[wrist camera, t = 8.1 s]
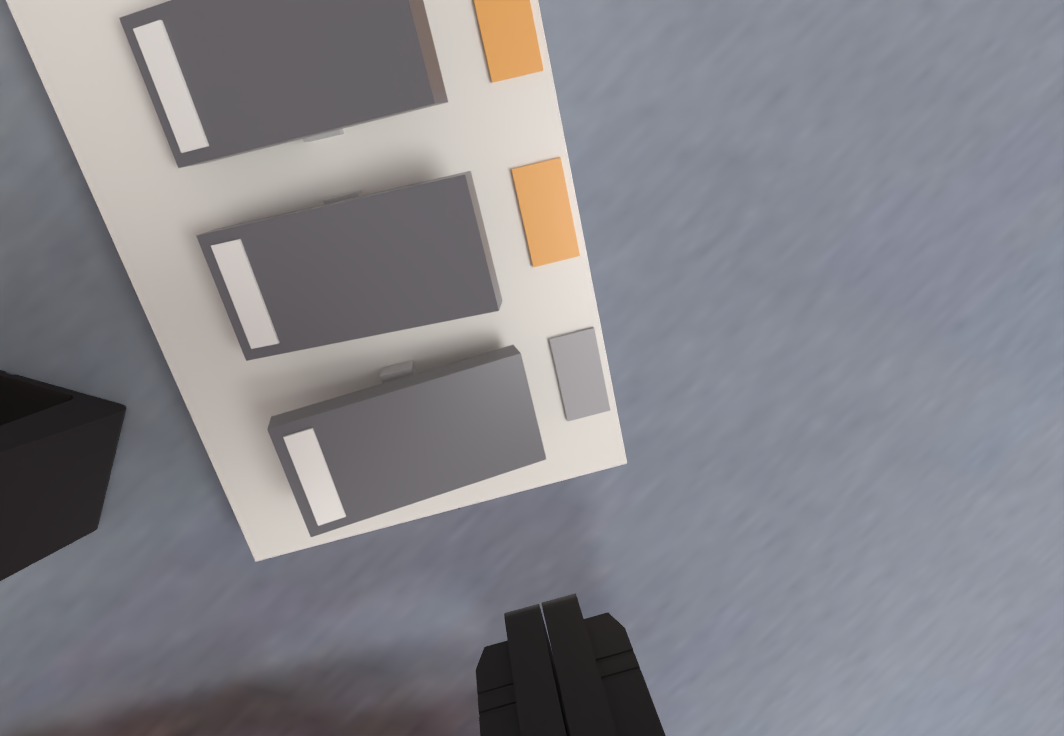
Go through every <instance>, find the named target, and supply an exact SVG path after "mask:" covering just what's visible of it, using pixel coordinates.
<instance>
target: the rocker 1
mask: <svg viewBox="0 0 1064 736" xmlns="http://www.w3.org/2000/svg"><path fill="white" fill-rule="evenodd" d="M119 19H120V22H121V24H122V27H123V29H124V32H125V34H126V37H127V39H128V42H129V44H130V47H131V50H132V52H133V55H134V57H135V60H136V62H137V65H138V67H139V70H140V72H141V75H142V77H143V80H144V82H145V85H146V88H147V90H148V93H149V95H150V98H151V100H152V103H153V105H154V108H155V110H156V113H157V115H158V118H159V120H160V123H161V126H162V128H163V131H164V133H165V136H166V138H167V141H168V143H169V146H170V148H171V151H172V153H173V156H174V158H175V161H176V164H177V166H178V168H182V167H187V166H193V165H198V164H204V163H208V162H212V161H216V160H220V159H224V158H228V157H232V156H236V155H240V154H244V153H248V152H252V151H256V150H260V149H264V148H268V147H272V146H276V145H280V144H283V143H287V142H291V141H295V140H299V139H303V138H307V137H311V136H315V135H319V134H323V133H327V132H331V131H335V130H339V129H343V128H347V127H351V126H355V125H359V124H363V123H367V122H371V121H375V120H379V119H383V118H387V117H391V116H395V115H399V114H403V113H407V112H411V111H415V110H419V109H423V108H427V107H431V106H435V105H439V104H443V103H447V102H448V99H447V95H446V91H445V87H444V82H443V78H442V74H441V70H440V66H439V62H438V58H437V54H436V50H435V46H434V42H433V38H432V34H431V30H430V26H429V22H428V18H427V14H426V10H425V6H424V2H423V0H170V1H167V2H164V3H161V4H158V5H156V6H153V7H150V8H147V9H144V10H141V11H138V12H135V13H132V14H129V15H126V16H123V17H120V18H119Z"/></svg>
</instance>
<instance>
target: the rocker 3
mask: <svg viewBox="0 0 1064 736" xmlns="http://www.w3.org/2000/svg"><path fill="white" fill-rule="evenodd" d="M267 430H268V433H269V435H270V438H271V440H272V442H273V445H274V447H275V450H276V452H277V455H278V457H279V460H280V462H281V465H282V467H283V470H284V472H285V475H286V477H287V480H288V482H289V485H290V487H291V490H292V492H293V495H294V497H295V500H296V502H297V504H298V507H299V509H300V512H301V514H302V517H303V519H304V522H305V524H306V527H307V529H308V532H309V534H310V537H314V536H317V535H320V534H323V533H326V532H329V531H332V530H335V529H338V528H341V527H344V526H347V525H350V524H353V523H356V522H359V521H362V520H365V519H368V518H371V517H374V516H377V515H380V514H383V513H386V512H389V511H392V510H395V509H398V508H401V507H404V506H407V505H410V504H413V503H416V502H419V501H422V500H425V499H428V498H431V497H434V496H437V495H440V494H443V493H446V492H449V491H452V490H455V489H458V488H461V487H464V486H467V485H470V484H474V483H477V482H480V481H483V480H486V479H489V478H492V477H495V476H498V475H501V474H504V473H507V472H510V471H513V470H516V469H519V468H522V467H525V466H528V465H531V464H534V463H537V462H540V461H543V460H546V455H545V451H544V447H543V443H542V439H541V435H540V430H539V426H538V422H537V418H536V414H535V410H534V405H533V401H532V397H531V393H530V389H529V385H528V381H527V376H526V372H525V368H524V364H523V360H522V356H521V353H520V352H519V351H518V349H517V348H516V347H515V346H514V345H510V346H507V347H503V348H500V349H497V350H493V351H490V352H486V353H483V354H480V355H476V356H473V357H470V358H466V359H463V360H460V361H456V362H453V363H449V364H446V365H443V366H439V367H436V368H433V369H429V370H426V371H423V372H419V373H416V374H413V375H409V376H406V377H402V378H399V379H396V380H392V381H389V382H386V383H382V384H379V385H376V386H372V387H369V388H366V389H362V390H359V391H355V392H352V393H349V394H345V395H342V396H339V397H335V398H332V399H329V400H325V401H322V402H318V403H315V404H312V405H308V406H305V407H302V408H298V409H295V410H292V411H288V412H285V413H282V414H278V415H275V416H271V419H270V422H269V425H268V429H267Z"/></svg>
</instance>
